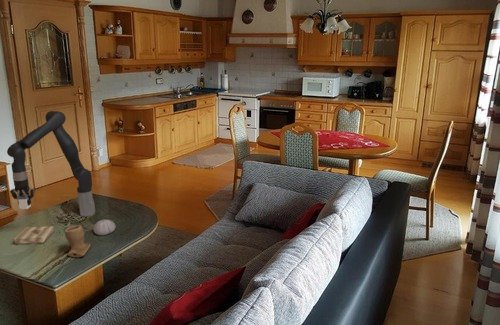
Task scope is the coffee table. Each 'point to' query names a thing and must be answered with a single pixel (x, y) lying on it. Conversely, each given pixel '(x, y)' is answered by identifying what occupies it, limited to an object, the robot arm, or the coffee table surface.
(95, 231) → the sea urchin shell
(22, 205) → the connector plug
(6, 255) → the coffee table surface
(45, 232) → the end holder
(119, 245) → the coffee table surface
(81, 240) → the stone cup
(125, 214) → the coffee table surface
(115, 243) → the coffee table surface
